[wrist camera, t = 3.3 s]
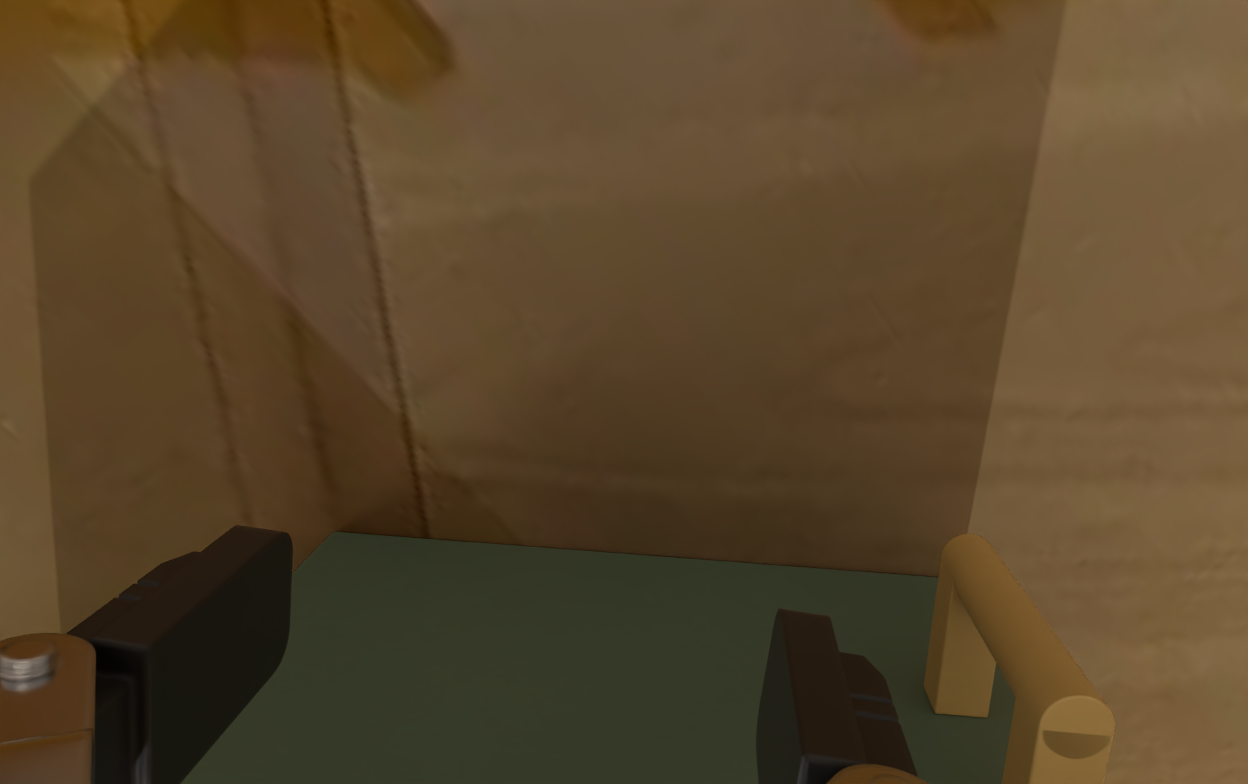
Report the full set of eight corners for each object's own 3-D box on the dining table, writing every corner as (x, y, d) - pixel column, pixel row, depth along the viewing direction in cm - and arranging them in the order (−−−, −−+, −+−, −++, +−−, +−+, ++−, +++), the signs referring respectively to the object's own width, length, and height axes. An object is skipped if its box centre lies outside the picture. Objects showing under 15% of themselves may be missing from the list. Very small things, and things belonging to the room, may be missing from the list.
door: (328, 410, 39) (-216, 777, 16) (977, 453, 37) (1416, 940, 14) (333, 552, 40) (-156, 1074, 18) (956, 601, 39) (1321, 1255, 16)
